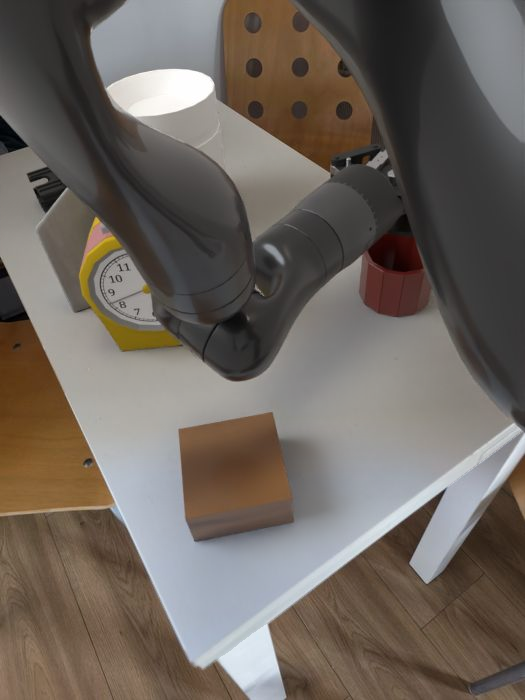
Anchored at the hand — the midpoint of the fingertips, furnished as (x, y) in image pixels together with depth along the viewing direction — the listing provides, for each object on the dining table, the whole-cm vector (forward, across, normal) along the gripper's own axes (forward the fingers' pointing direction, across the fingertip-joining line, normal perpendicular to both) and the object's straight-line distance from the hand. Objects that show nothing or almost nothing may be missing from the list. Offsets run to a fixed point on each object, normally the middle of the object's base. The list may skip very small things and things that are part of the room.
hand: (428, 147), depth 57 cm
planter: (-23, +33, +20) cm, 45 cm away
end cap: (-16, +57, +20) cm, 62 cm away
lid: (-3, 0, +7) cm, 7 cm away
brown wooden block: (-37, -2, +19) cm, 42 cm away
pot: (-3, 0, +19) cm, 20 cm away
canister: (-6, +38, +20) cm, 43 cm away
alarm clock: (-26, +20, +20) cm, 38 cm away
